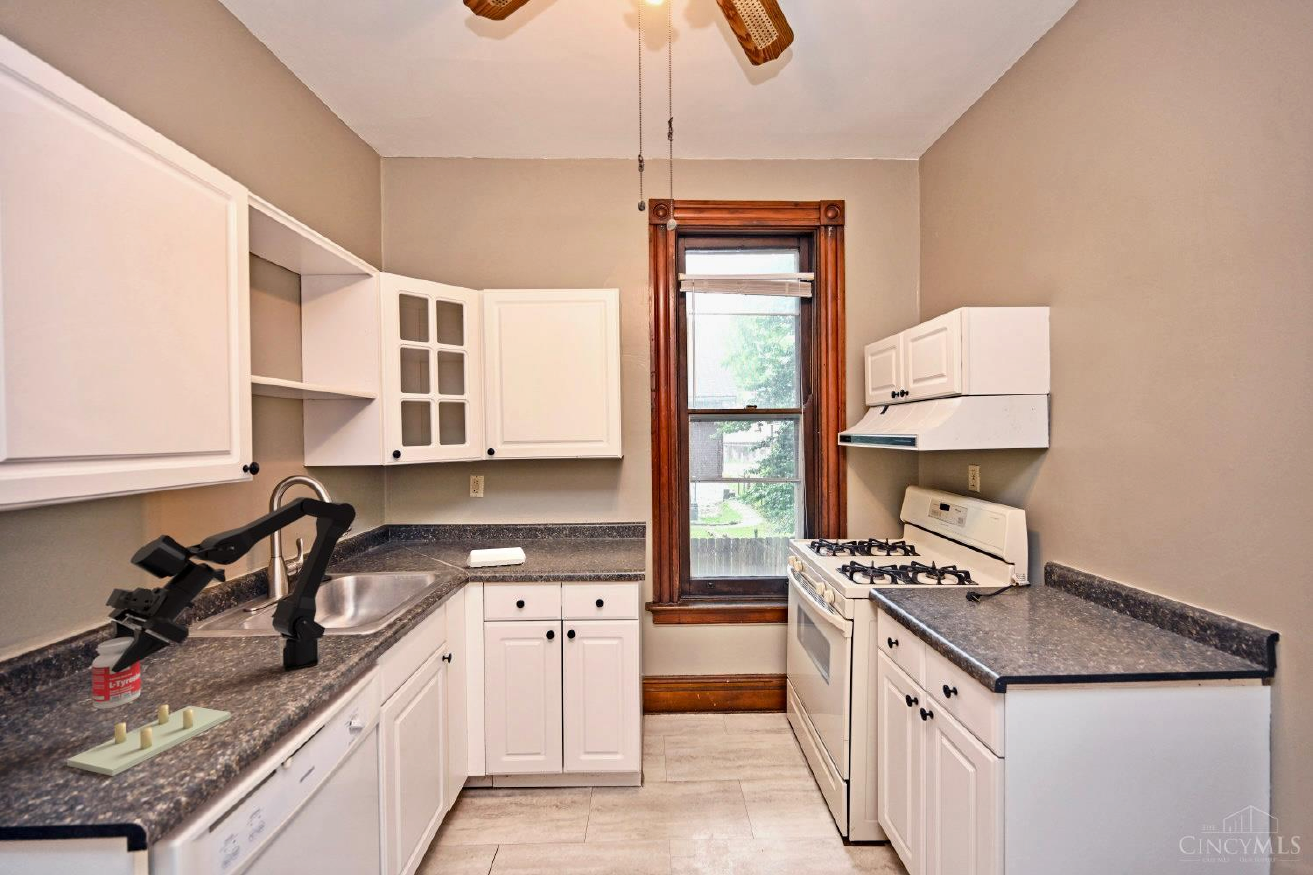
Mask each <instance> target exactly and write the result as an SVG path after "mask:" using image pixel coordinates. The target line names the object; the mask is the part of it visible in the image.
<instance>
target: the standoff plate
mask: <svg viewBox="0 0 1313 875" xmlns="http://www.w3.org/2000/svg"><path fill="white" fill-rule="evenodd" d="M157 713H158V714H157V717H158V718H157V719H156V720H154V721H152V722H150V723H147V724H145V725H142V726H140V727H138V728H136V729H133V730H131V731H129V732H127V723H126V722H120V723H117V724H115V725H114V738H113V739H111V740H108V741H106V742H104V743H102V744H99V745H97V746H94V747H92V748H89V749H88V750H86V751H84V752H81V753H78V754H76V755H75V756H72V757H69V758H67V759H66V766H67V767H71V768H76V769H80V770H85V771H89V772H93V773H97V774H101V775H107V776H110V777H114V776H115V775H119V774H120V773H123V772H124V771H126V770H128V769H130V768H132V767H134V766H136V765H138V764H140V763H143V762H145V761H146V760H148V759H150V758H152V757H154V756H156V755H158V754H161V753H162V752H165V751H167V750H169V749H171V748H172V747H175V746H177V745H179V744H181V743H183V742H184V741H185V742H186V741H187V740H190V738H193V737H195V736H197V735H199V734H201V733H203V732H205V731H206V730H209V729H211V728H213V727H215V726H217V725H219V724H222V723H224V722H225V721H227V720H230V719H231V718H232V712H230V711H223V710H218V709H211V708H206V707H200V706H196V705H195V706H194V705H188V706H185V707H183V708H181V709H178V710H176V711H173V712H171V713H170V714H169V704H162V705H159V706H158V708H157Z"/></svg>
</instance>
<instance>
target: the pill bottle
mask: <svg viewBox="0 0 1313 875" xmlns="http://www.w3.org/2000/svg"><path fill="white" fill-rule="evenodd" d="M133 641H134V638H133V637H122V638H116V639H112V640H110V639H108V640H105V641H103V642H100V643H99V644H98V645H97V654H99V655H98V656H97V657H95V659H93V661H92V664H91V669H92V672H91V673H92V674H91V675H92V706H93V707H94V708H96V709H110V708H115V707H119V706H122V705H124V704H128V703H131V702H133V701H134V700H136V699H138V698H139V697H140V695H141V691H142V690H141V660H140V661H138V662H136V663H135V664H133V665H131V666H129V667H127V668H126V669H124V670H122V671H120V672H118V673H116V672H113V671H112V668H113V667H114V665H115V664H116V663H117V661H118V660H119V659H120V657H121V656H122V655H123V654H124V652H125V651H126V650H127V649H128V647H129V646H130V645H131V643H132V642H133Z"/></svg>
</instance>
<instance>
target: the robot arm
mask: <svg viewBox="0 0 1313 875" xmlns="http://www.w3.org/2000/svg"><path fill="white" fill-rule="evenodd" d="M305 516H308V517H313V518H316V520H315V530H316V535H315V539H314V541H313V544H312V545H311V548H310V551H309V553H308V556H307V558H306V561H305V563H304V564H303V568H302V570H301V573H300V575H299V577H298V580H297V582H296V584H295V588H294V590H293V592H292V594H291V595H290V596H289V597H288V598H287V599H285V600H283V599H279V600H278V601H277V605H276V609H275V610H274V612H273V614H272V615H271V618H273V619H272V624H271V625H272V627H273V628H274V631H276V632H277V633H280V636H281V638H282V639H286V641H285V645H283V648H282V665H283V666H284V671H285V672H286V671H287V672H288V671H291V670H297V669H301V668H308V667H312V666H317V665H319V662H320V655H321V654H320V652H319V651H320V650H319V647H320V646H319V644H320V643H319V642H320V641H319V639H320V638H323V637H324V634H325V630H326V627H324V626H323V625H321V624H320V623H319V622H317V621H315V618H316V614H317V603H316V597H317V594H318V591H319V589H320V586H321V584H322V582H323V579H324V576H325V574H326V571H327V569H328V566H329V564H330V561H331V558H332V557H333V554H334V551H335V549H336V546H337V543H338V541H339V540H340V539H341V538H342V537H343V536H344V535H345V534H346V533H347V531H348V530H349V529H350V528H351V526H352V524H353V523H354V521H355V519H356V516H357V511H356V510H355V508H354V505H352V504H350V503H348V502H337V501H336V502H335V501H330V502H327V501H323V500H319V499H315V498H313V497H310V496H309V497H308V496H307V497H306V496H298V497H296V498H294V499H292V500H291V501H290V502H288V503H285V504H284V505H282V506H281V507H278V508H276V509H275V510H272V511H270V512H269V513H267V514H264V515H263V516H261V517H259V518H257V519H255V520H253V521H251V522H249V523H247V524H246V525H243V526H241V527H240V526H239V527H237V528H234V529H228V530H225V531H223V532H220V533H215V534H213V535H211V536H208V537H206V538H205V539H203V540H202V541H201V542H200V543H196V544H194V545H190V546H187V547H185V546H184V545H182V544H180V543H179V542H177V541H176V540H175V539H174V538H173V537H172V536H170V535H168V534H161V535H160V536H159V537H158V538H157V539H154V540H151V541H150V542H148V543H147V544H146V545H144V546H141V547H140V548H139V549H138V550H137V551H135V553H134V554H133V555H132V557H131V558H130V563H131V564H132V565H133V566H135V567H137V568H139V569H141V570H142V571H144V572H146V573H148V574H150V575H151V576H153V577H155V578H157V579H158V580H163V579H165V578H167V577H168V578H170V579H169V580H168V581H167V582H166V583H165V584H164V585H163V586H162V587H160V586H159V587H158V586H157V587H154V588H153V589H150V588H144V587H143V588H142V587H140V586H139V587H137V588H135V589H134V590H133V589H132V590H131V589H124V588H123V589H122V588H116V587H115V588H113V590H112V592H111V594H110V596H109V597H108V600H107V601H106V603H105V606H106V607H111V608H112V609H113V610H112V611H111V612H110V613H108V615H107V617H108V618H111V619H112V620H111V621H110V624H111V625H112V630H113V631H112V635H111V636H110V639H109V640H112V639H116V638H122V637H133V638H134V641H133V642H132V643H131V645H130V646H129V647H128V649H127V650H126V651H125V652H124V654H123V655H122V656H121V657H120V659H119V660H118V661H117V663H116V664H115V665H114V667H113V668H112V671H113V672H116V673H118V672H120V671H122V670H124V669H126V668H127V667H129V666H131V665H133V664H135V663H136V662H138V661H140V662H141V661H142V660H144V659H146V658H148V657H149V656H151V655H153V654H155V653H157V652H158V651H159V652H160V651H161V650H163V649H165V648H167V647H171V645H172V643H174V644H177V645H182V644H183V643H184V642H185V640H186V639H188V637H189V636H190V629H189V628H188V627H187V626H184V625H183V624H180V623H178V622H177V621H176V620H177V619H178V618H179V617H180V615H182V613H184V611H185V610H186V609H190V610H191V609H193V607H194V606H195V605H196V603H194V602H193V601H194V600H196V598H198V596H200V594H201V593H202V592H203V591H204V590H205V588H207V586H208V585H210V583H211V582H213V581H214V582H216V583H217V582H218V583H223V584H225V583H226V581H227V579H226V574H225V572H226V570H225V569H224V568H214V567H212V566H211V565H209V564H210V563H211V564H215V565H221V566H228V565H231V564H234V563H235V562H238V560H240V559H241V558H243V557H244V556H245V555H247V553H249V552H250V551H251V550H252V549H253V547H255V546H256V545H257V543H259V542H261V541H262V540H264V539H265V538H267V537H269V536H271V535H273V534H274V533H276V532H279V531H280V530H282V529H283V528H285V527H287V526H290V525H291V524H292V523H295V522H297V521H298V520H300V519H302V518H303V517H305ZM191 559H194V560H199V561H203V562H201V563H198V564H197V563H196V562H194V561H193V560H191ZM205 562H206V563H205ZM207 563H209V564H207ZM170 641H171V642H172V643H170Z"/></svg>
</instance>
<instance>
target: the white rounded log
mask: <svg viewBox="0 0 1313 875" xmlns="http://www.w3.org/2000/svg"><path fill="white" fill-rule="evenodd" d="M526 559H527V558H526V554H525V553H524V550H523V548H522V547H519V546H518V547H507V548H506V547H505V548H504V547H503V548H491V549H490V548H489V549H488V548H487V549H476V550H475V549H474V550H471V551H470V554H469V555H468V558H467V559H466V564H467V566H468V567H469V566H470V567H481V566H495V565H507V564H519V563H522V562H524V563H526V562H525V561H526ZM470 567H469V568H470Z"/></svg>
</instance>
